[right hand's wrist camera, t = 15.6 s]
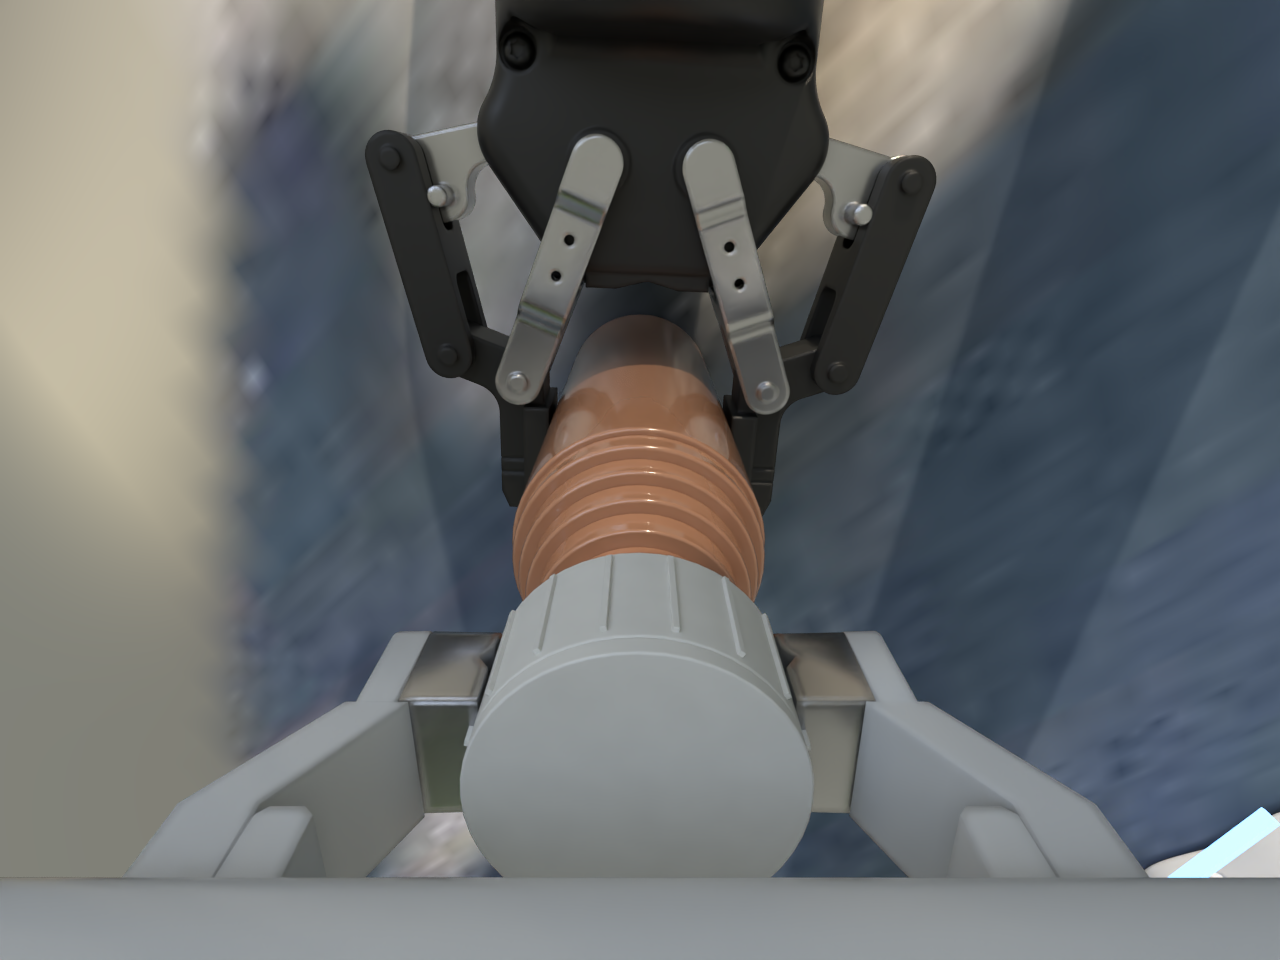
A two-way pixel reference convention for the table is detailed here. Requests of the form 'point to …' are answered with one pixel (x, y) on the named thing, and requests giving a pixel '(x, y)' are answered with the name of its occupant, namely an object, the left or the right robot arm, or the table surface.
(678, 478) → the bottle
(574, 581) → the cap
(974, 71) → the table surface
